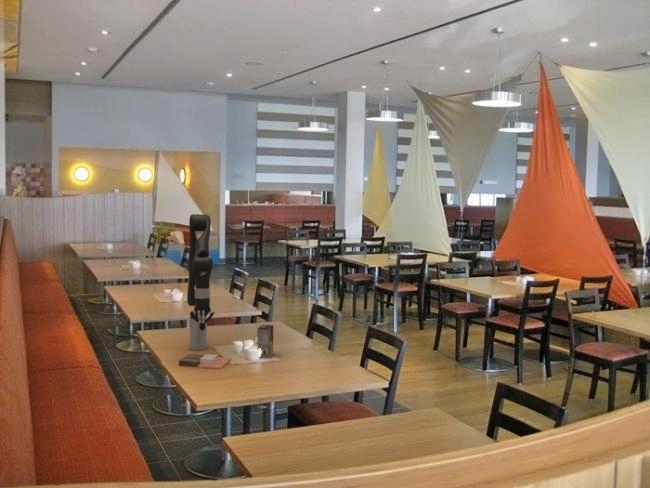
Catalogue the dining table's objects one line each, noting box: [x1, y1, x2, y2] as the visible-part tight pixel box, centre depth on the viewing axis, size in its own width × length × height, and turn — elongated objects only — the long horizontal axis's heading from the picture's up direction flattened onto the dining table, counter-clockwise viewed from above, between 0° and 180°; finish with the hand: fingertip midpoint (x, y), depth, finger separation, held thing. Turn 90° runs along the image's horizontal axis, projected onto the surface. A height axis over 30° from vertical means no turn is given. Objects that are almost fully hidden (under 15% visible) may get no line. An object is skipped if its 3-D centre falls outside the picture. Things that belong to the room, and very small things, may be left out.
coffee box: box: [257, 324, 274, 359], centre depth 366 cm, size 9×6×16 cm
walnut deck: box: [178, 353, 205, 368], centre depth 351 cm, size 14×10×2 cm
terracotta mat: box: [197, 356, 232, 370], centre depth 350 cm, size 18×12×1 cm, turn 172°
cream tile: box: [200, 353, 218, 364], centre depth 350 cm, size 9×6×2 cm, turn 171°
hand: (202, 330), depth 349 cm, fingers closed
